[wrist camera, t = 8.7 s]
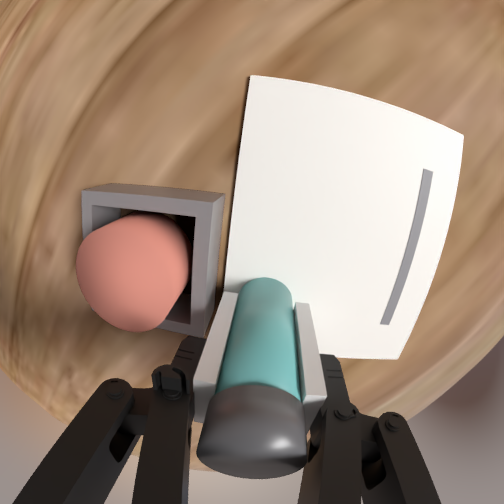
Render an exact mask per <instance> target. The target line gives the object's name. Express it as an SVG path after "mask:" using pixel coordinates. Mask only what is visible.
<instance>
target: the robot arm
mask: <svg viewBox="0 0 504 504" xmlns="http://www.w3.org/2000/svg"><path fill="white" fill-rule="evenodd" d="M237 299H238V293H232V292H226V291H224V293H223V296H222V299H221V301H220V304H219V307H218V310H217V313H216V315H215V318H214V321H213V324H212V327H211V329H210V332H209V335H208V338H207V339H204V338H199V337H194V336H188V337H187V338H185V339H184V340H183V341H182V342H181V344H180V346H179V348H178V350H177V353H176V355H175V357H174V359H173V361H172V363H171V365H163V366H159V367H158V368H156V369H155V370H154V371H153V373H152V382H153V387H152V388H145V389H143V388H132V387H131V386H130V384H129V383H128V382H126V381H125V380H122V379H118V378H112V379H108V380H106V381H104V382H103V383H102V384H101V385H100V386H99V387H98V388H97V390H96V391H95V392H94V393H93V395H92V396H91V397H90V398H89V400H88V401H87V402H86V404H85V405H84V406H83V407H82V409H81V410H80V411H79V413H78V414H77V415H76V416H75V418H74V419H73V420H72V422H71V423H70V424H69V426H68V427H67V428H66V429H65V431H64V432H63V433H62V435H61V436H60V437H59V439H58V440H57V441H56V443H55V444H54V446H53V447H52V448H51V450H50V451H49V452H48V454H47V455H46V456H45V458H44V459H43V461H42V462H41V463H40V465H39V466H38V468H37V469H36V470H35V472H34V473H33V475H32V476H31V477H30V479H29V480H28V482H27V483H26V485H25V486H24V487H23V489H22V491H21V492H20V493H19V495H18V496H17V498H16V499H15V501H14V502H13V504H104V502H105V500H106V499H107V497H108V495H109V493H110V491H111V489H112V487H113V486H114V484H115V482H116V480H117V478H118V476H119V475H120V473H121V471H122V469H123V467H124V465H125V464H126V462H127V460H128V458H129V456H130V455H131V453H132V451H133V449H134V447H135V445H136V444H137V442H138V440H139V438H140V436H141V435H144V436H143V441H142V446H141V451H140V456H139V462H138V468H137V473H136V479H135V485H134V492H133V498H132V504H188V484H189V464H190V447H191V433H192V428H191V425H192V421H193V418H194V421H195V422H199V423H204V419H205V415H206V411H207V407H208V404H209V401H210V400H211V398H212V397H213V396H214V395H215V391H216V387H217V383H218V379H219V374H220V370H221V366H222V362H223V358H224V354H225V350H226V346H227V341H228V337H229V333H230V329H231V325H232V321H233V317H234V313H235V309H236V305H237ZM293 311H294V321H295V332H296V342H297V354H298V365H299V378H300V391H301V403H302V404H303V406H304V410H305V422H306V435H307V433H308V431H309V430H310V434H311V438H310V439H309V441H308V442H307V455H308V460H307V463H306V465H305V466H304V470H303V476H302V482H301V488H300V493H299V499H298V504H361V496H362V500H363V504H441V502H440V499H439V497H438V494H437V492H436V489H435V486H434V484H433V481H432V479H431V476H430V474H429V471H428V469H427V467H426V464H425V462H424V459H423V457H422V455H421V452H420V451H419V448H418V446H417V443H416V441H415V439H414V437H413V435H412V433H411V430H410V428H409V426H408V424H407V422H406V420H405V419H404V417H403V416H401V415H400V414H398V413H395V412H386V413H383V414H382V415H381V416H380V417H379V418H376V417H371V416H367V415H364V414H361V413H359V411H358V409H357V408H356V406H355V405H353V404H352V403H350V400H349V396H348V392H347V388H346V384H345V380H344V378H343V377H344V376H343V373H342V369H341V365H340V362H339V361H338V359H337V358H336V357H335V356H334V355H331V354H319V349H318V344H317V339H316V334H315V329H314V324H313V320H312V315H311V310H310V306H309V304H308V303H301V302H295V306H294V310H293Z"/></svg>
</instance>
